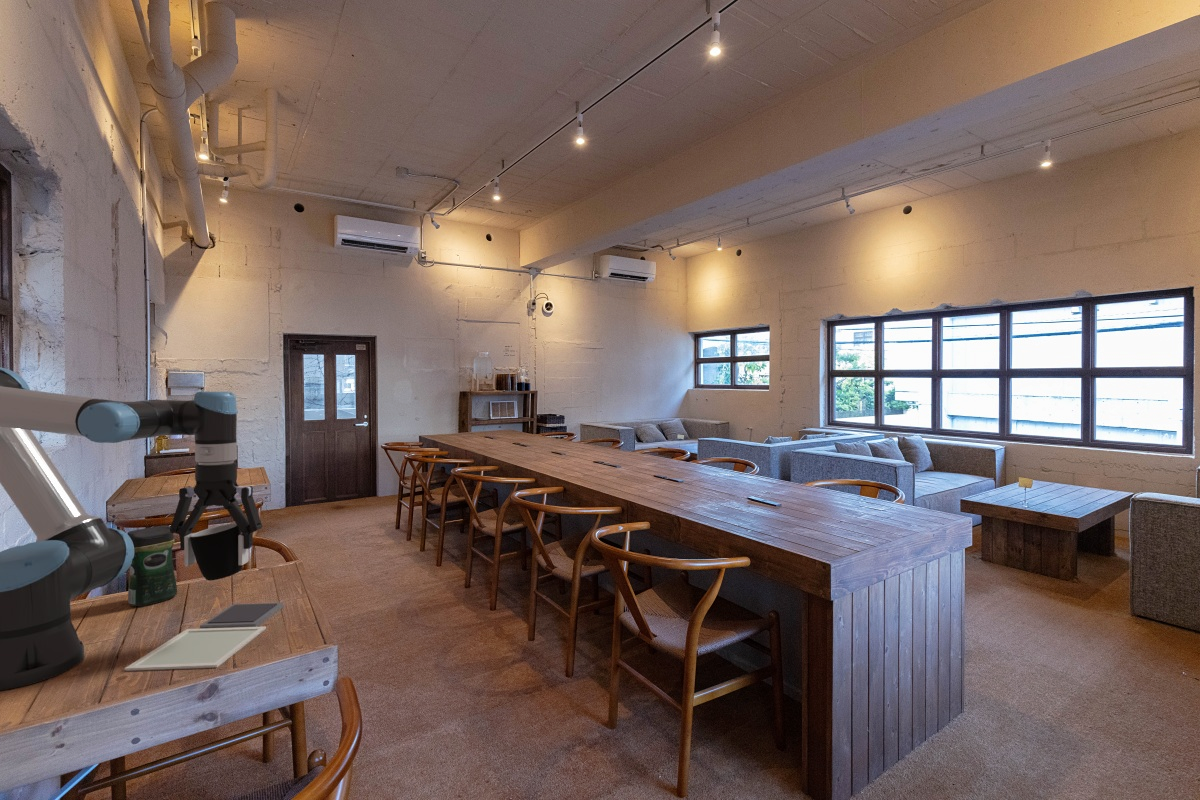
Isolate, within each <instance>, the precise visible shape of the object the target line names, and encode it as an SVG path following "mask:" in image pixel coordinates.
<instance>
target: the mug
mask: <svg viewBox="0 0 1200 800" xmlns="http://www.w3.org/2000/svg"><path fill="white" fill-rule="evenodd" d="M193 533H194V534H192V535H190V541H191V545H192V549H193V552H194V555H195V558H196V564H197V566H198V569H199V571H200V573H201V575H202V576H203V578H204V579H205V580H207V581H217V580H222V579H224V578H228V577H231V576H234V575H236V574H238V573H239V572H241V570H242V568H243V565H239V564H238V535H240V534H242V532H241V530H240V529H239V527H238V526H237V524H236V523H235V522H234V523H228V524H227V523H226V524H222V525H218V526H217V525H216V526H214V527H210V528H206V529H203V530H200V531H197V532H193Z"/></svg>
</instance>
